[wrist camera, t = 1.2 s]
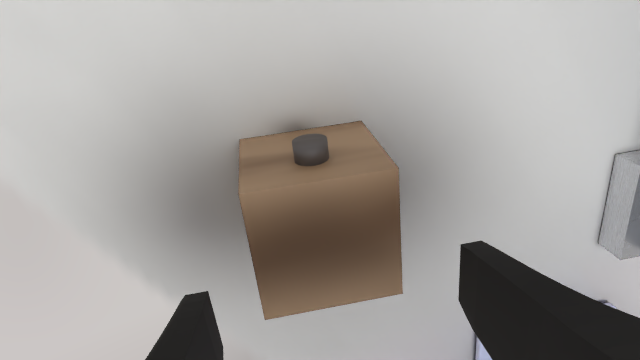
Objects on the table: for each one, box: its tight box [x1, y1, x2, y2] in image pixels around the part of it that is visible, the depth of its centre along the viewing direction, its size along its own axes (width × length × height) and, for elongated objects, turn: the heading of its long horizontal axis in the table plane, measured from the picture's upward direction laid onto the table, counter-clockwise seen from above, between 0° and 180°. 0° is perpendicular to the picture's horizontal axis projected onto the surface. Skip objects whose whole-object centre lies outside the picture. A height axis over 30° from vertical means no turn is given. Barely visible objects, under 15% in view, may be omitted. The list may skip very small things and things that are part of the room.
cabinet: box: [238, 121, 403, 320], centre depth 17 cm, size 6×5×5 cm
